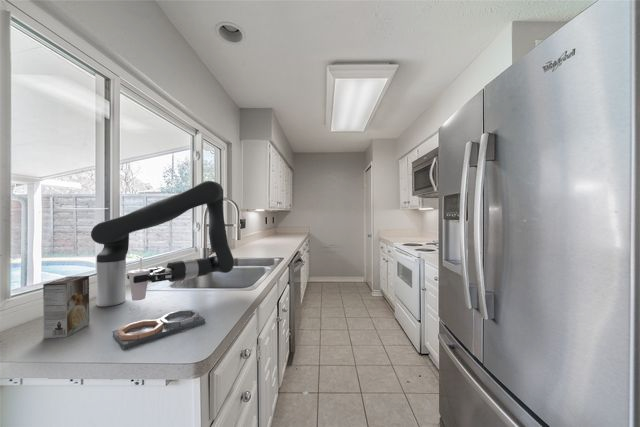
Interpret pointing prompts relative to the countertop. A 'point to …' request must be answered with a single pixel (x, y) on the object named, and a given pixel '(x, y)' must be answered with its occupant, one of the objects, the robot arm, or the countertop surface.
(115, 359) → the countertop surface
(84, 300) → the coffee box
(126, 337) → the terracotta collar
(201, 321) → the dual ring board
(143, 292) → the smoothie
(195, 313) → the grey collar
